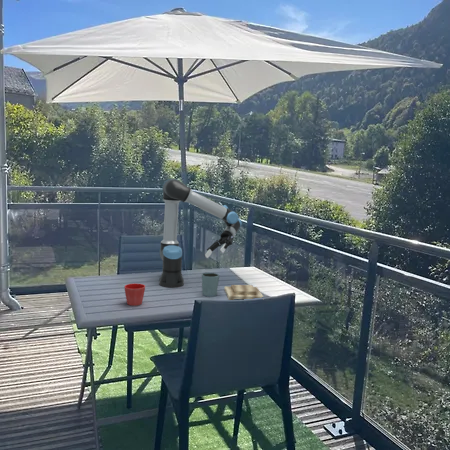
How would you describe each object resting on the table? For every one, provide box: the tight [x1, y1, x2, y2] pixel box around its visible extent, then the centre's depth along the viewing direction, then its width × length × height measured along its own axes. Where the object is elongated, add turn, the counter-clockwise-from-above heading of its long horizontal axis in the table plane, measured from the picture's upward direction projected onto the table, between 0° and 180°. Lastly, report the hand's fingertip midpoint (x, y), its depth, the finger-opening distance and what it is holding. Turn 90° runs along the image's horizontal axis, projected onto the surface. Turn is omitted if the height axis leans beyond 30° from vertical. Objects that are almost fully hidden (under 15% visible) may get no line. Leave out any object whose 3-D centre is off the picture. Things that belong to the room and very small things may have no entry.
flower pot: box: [124, 283, 146, 307], centre depth 239 cm, size 11×11×10 cm
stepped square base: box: [223, 284, 264, 301], centre depth 265 cm, size 20×20×4 cm
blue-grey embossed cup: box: [201, 272, 220, 298], centre depth 262 cm, size 10×10×12 cm
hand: (213, 254), depth 276 cm, fingers open, 13 cm apart
